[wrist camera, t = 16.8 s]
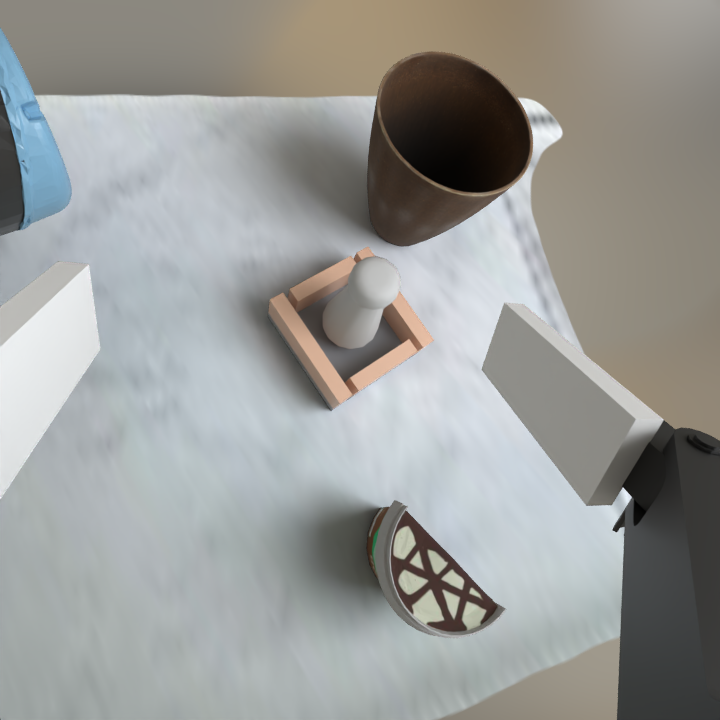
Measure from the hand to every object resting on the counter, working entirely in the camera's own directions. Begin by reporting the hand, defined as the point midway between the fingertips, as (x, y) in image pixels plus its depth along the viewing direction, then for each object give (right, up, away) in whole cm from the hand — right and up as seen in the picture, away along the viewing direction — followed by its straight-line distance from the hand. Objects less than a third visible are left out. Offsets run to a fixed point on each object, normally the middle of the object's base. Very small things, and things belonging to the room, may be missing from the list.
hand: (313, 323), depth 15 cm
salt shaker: (0, +2, +33) cm, 33 cm away
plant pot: (+6, +16, +40) cm, 43 cm away
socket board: (0, +2, +34) cm, 34 cm away
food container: (+5, -21, +29) cm, 37 cm away
